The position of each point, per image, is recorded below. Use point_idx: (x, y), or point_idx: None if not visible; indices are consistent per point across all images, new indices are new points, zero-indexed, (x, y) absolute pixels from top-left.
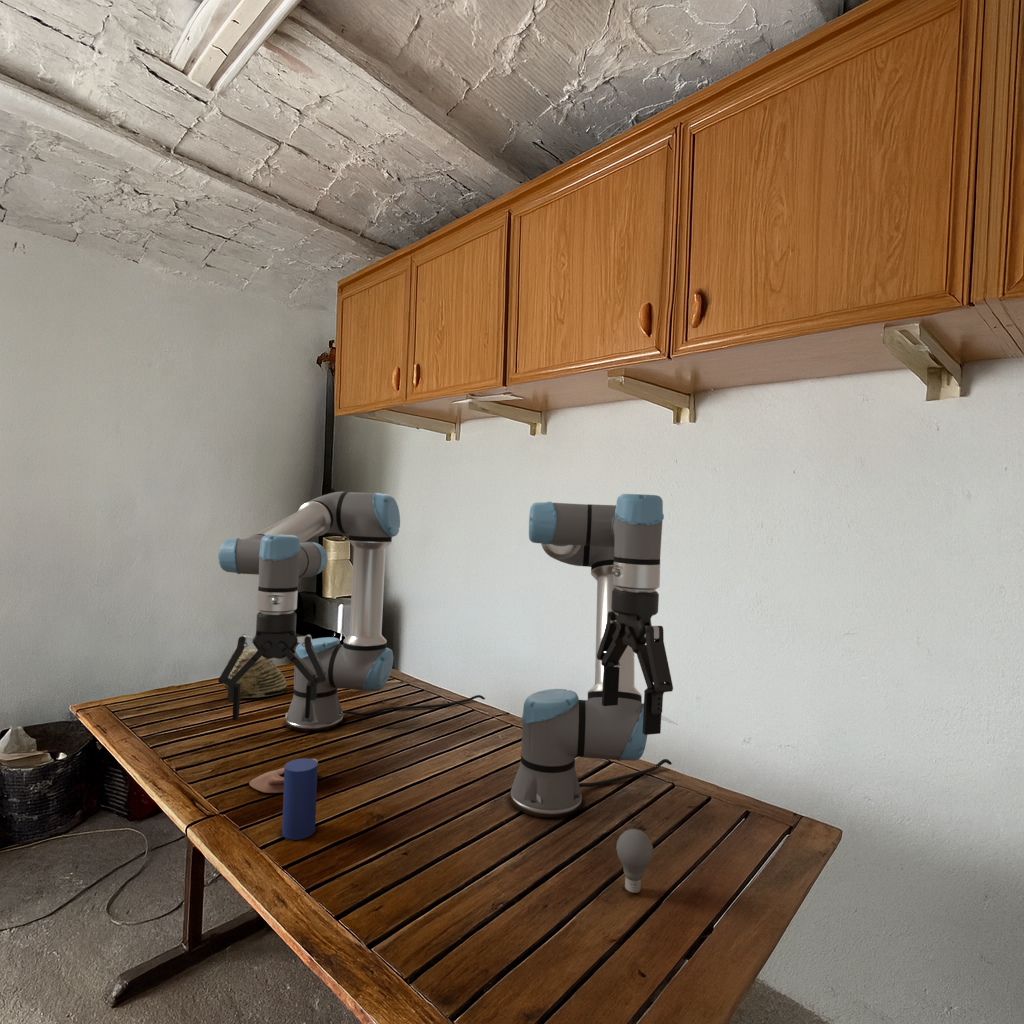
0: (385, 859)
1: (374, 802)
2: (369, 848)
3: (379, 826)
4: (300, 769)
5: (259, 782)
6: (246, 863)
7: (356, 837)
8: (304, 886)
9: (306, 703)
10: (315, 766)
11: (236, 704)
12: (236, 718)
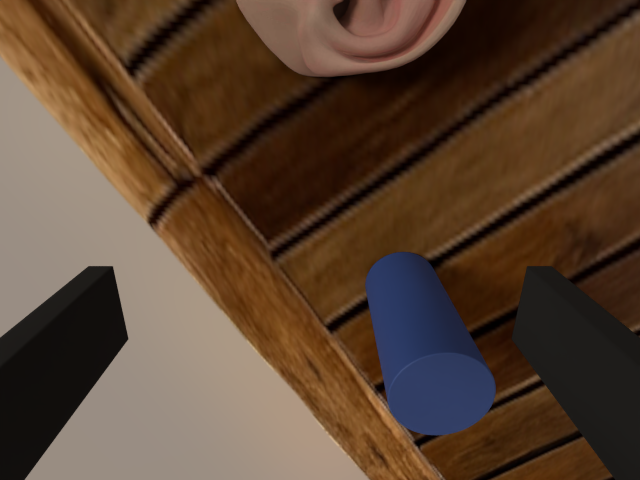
0: None
1: (599, 170)
2: None
3: (576, 286)
4: (438, 425)
5: (270, 21)
6: (311, 370)
7: None
8: (412, 434)
9: (567, 404)
10: (486, 412)
11: (70, 407)
12: (123, 344)
